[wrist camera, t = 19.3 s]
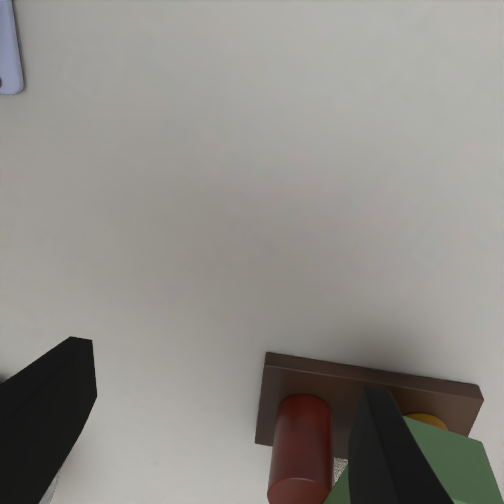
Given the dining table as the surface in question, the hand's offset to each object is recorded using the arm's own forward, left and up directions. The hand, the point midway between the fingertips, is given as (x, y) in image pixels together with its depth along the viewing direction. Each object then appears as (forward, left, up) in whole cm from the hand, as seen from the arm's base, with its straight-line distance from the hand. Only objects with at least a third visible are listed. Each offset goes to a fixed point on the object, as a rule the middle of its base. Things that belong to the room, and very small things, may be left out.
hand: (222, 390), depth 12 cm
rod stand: (+6, -10, -10) cm, 16 cm away
